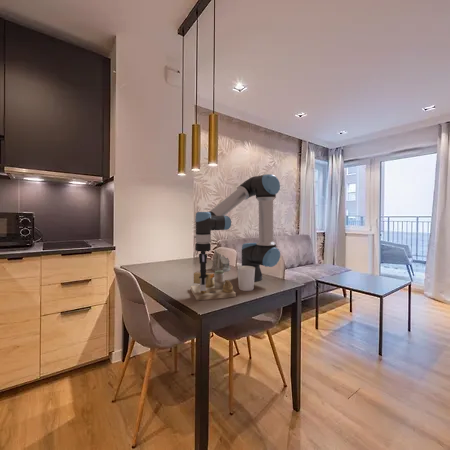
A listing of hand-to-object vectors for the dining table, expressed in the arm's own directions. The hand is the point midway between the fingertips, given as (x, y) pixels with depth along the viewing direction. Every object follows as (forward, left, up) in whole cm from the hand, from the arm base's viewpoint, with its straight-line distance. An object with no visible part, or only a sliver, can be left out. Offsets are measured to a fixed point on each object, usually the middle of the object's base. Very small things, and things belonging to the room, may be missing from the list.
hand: (202, 288), depth 127 cm
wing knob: (0, 0, -2) cm, 2 cm away
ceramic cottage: (-27, -57, -4) cm, 63 cm away
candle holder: (-26, -7, -4) cm, 27 cm away
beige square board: (-6, -5, -4) cm, 9 cm away
